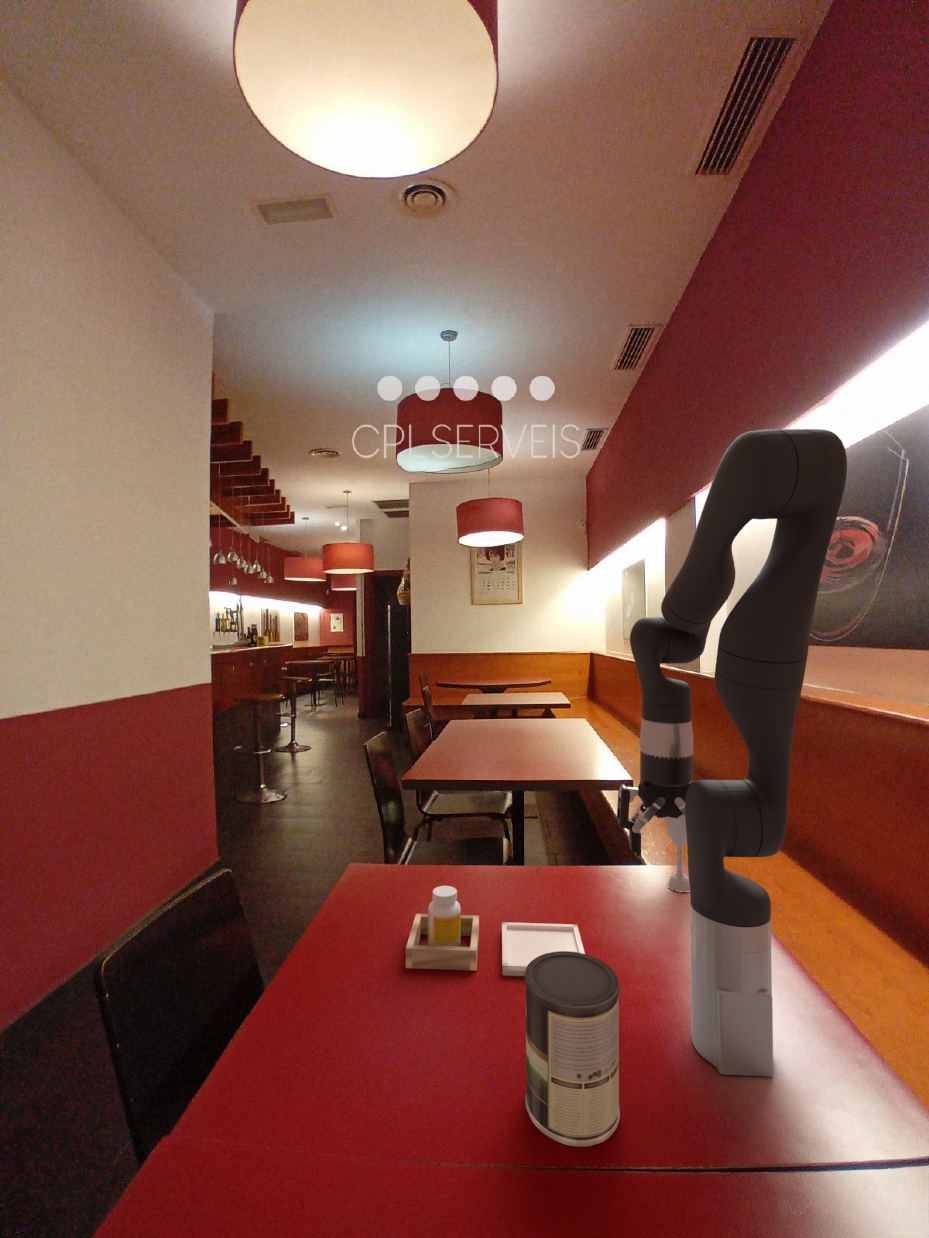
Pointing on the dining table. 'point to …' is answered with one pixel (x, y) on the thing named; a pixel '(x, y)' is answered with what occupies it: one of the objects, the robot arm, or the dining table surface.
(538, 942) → the ceramic tray
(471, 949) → the oak holder
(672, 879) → the chalice
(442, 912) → the supplement bottle
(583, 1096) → the coffee can
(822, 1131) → the dining table surface
